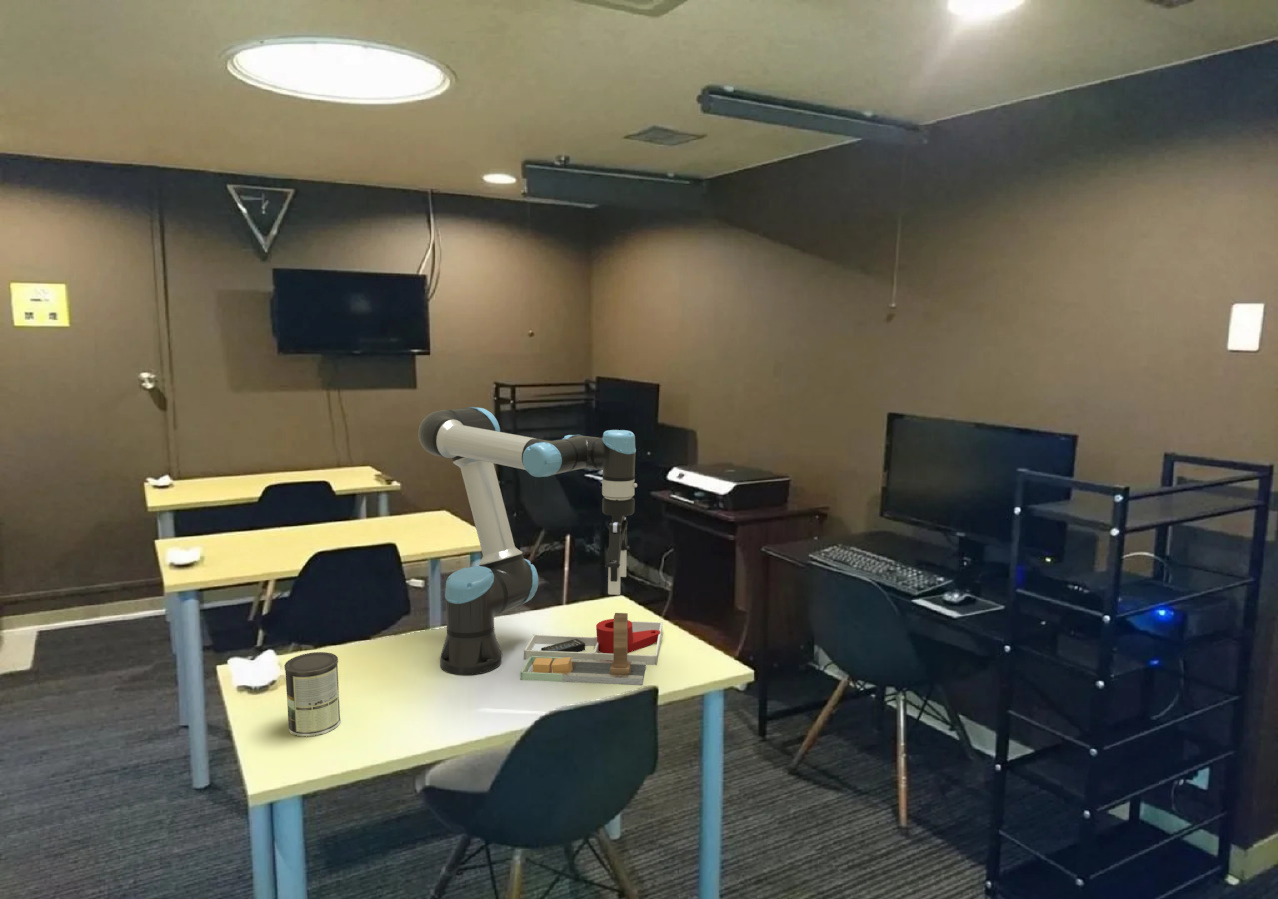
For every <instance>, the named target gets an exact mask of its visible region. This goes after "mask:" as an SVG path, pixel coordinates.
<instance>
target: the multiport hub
mask: <svg viewBox="0 0 1278 899" xmlns="http://www.w3.org/2000/svg"><path fill="white" fill-rule="evenodd" d="M540 651H561V652H584V651H586V646H585V643H583V642H581V641H580V640H578V639H574V640H570V641H566V642H562V643H558V644H550V645H548V646H544V647H541V648H540Z"/></svg>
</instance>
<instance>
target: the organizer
mask: <svg viewBox="0 0 1278 899" xmlns="http://www.w3.org/2000/svg"><path fill="white" fill-rule="evenodd" d="M630 621H631V622H632V629H633V632H639V631H647V630H659V631H660V634H659V635H658V641H657V643H656V647H655V653H654V655H652V654H630V653H627V661H639V662H646V666H647V665H648V666H649V665H650V666H657V664H658V658H659V653H660V647H661V643H662V638H663V637H662V636H663V622H662V621H661V622H659V621H639V620H638V621H635V620H634V621H633V620H630ZM574 639H578V640H580V641H581V642H583V643H585V647H586V646H587V647H594V649H593V652H586V651H585V652H584V651H580V652H561V651H541V650H536V649H535V650H533V648H534V646H535V645H555V644H558V643H562V642H566V641H570V640H574ZM530 656H540V657H564V658H567V657H571V659H592V660H614V654H609V653H601V652H599V643H598V642H597V636H575V635H573V636H571V635H551V634H549V635H548V634H547V635H546V634H533V635H532V637H531V638H530V639H529V642H528V643H527V645H526V647H525V648H524V650H523V660H528V659H529V657H530Z"/></svg>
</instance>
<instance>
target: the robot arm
mask: <svg viewBox="0 0 1278 899" xmlns="http://www.w3.org/2000/svg"><path fill="white" fill-rule="evenodd" d="M417 435H418V441H419V443H420V445H421V447H422V448H423V449H424V450H425V451H426V452H427V453H428V454H431V455H433V456H436V457H442V458H447V459H452V464H454V465H455V466H457V467H458V468H459V469H460V472H461V476H462V480H463V484H464V486H465V490H466V495H467V499H468V503H469V506H470V510H471V513H472V518H473V522H474V526H475V529H476V533H477V537H478V542H479V544H480V549H481V553H482V557H481V560H480V561H479V563H478V566H476V565H475V566H471V567H463V568H461V569H458V570H456V571H454V572H452V573H451V574H450V575H449V576H448V577H447V579H446V581H445V589H444V590H445V591H444V597H445V617H446V618H445V619H446V623H445V624H446V636H445V640H444V643H443V646H442V648H441V652H440V658H439V659H440V660H439V663H440V664H439V666H440V669H441V670H443V671H444V672H447V673H449V674H452V675H460V676H462V675H463V676H469V675H471V676H472V675H473V676H474V675H478V674H484V673H487V672H489V671H493V670H494V669H496V668H498V667H499V666H500V665H501V664H502V662H503V659H502V658H503V657H502V656H503V655H502V654H503V653H502V650H501V647H500V643H499V641H498V639H497V636H496V632H495V616H496V615H499V614H501V613H504V612H506V611H509V610H511V609H514V608H519V607H521V606H522V605H524V604H525V603H527V602H529V601H531V600H532V599H533V597H534V596H535V594H536V593H537V590H538V587H539V575H538V572H537V568H536V567H535V565H534V564H533V563H532V562H531V561H530V560H529V559H526V558H525V557H524V553H523V551H522V550H520V549H518V548H517V547H516V546H515V542H514V538H513V533H512V531H511V526H510V522H509V519H508V515H507V510H506V506H505V502H504V499H503V496H502V491H501V488H500V487H501V486H500V484H499V480H498V476H497V472H496V469H495V465H494V464H496V465H500V466H506V467H511V468H515V469H519V470H520V469H521V470H525V471H526V472H527V473H528V474H529V475H530V476H532V477H535V478H542V477H544V478H546V477H550V476H554V475H559V474H562V473H567V472H572V471H576V470H581V469H591V470H592V469H594V470H599V471H602V479H601V480H602V481H601V482H602V486H601V494H602V496H603V498H602V503H601V504H602V506H601V508H602V513H603V514H604V515H606V516H611V519H610V522H608V529H609V532H608V534H609V535H608V549H607V550H608V553H607V563H606V562H605V564H604V565H605V566H604V567H605V568H608V571H607V572H608V573H607V576H608V577H607V582H608V583H607V594H608V595H616V596H617V595H618V596H619V595H621V577H622V578H627V550H630V544H628V534H627V533H628V531H627V530H628V520H627V517H628V516H632V515H633V514H634V513H635V504H636V503H635V502H636V500H635V498H634V496H635V488H637V487H638V483H636V482H635V480H636V477H635V474H636V472H635V471H636V470H635V468H636V452H637V449H636V436H635V434H634V433H633V432H632V431H631V430H625V429H620V430H619V429H610V430H609V429H608V430H605V431H604V432H603V434H602V437H596V436H586V435H582V434H568V435H564V437H563V438H561V439H555V440H545V439H540V438H534V437H531V436H530V437H529V436H525V435H519V434H512V433H508V432H504V431H503V432H502V431H501V428H500V425H499V422H498V420H497V418H496V417H495V416H494V414H493V413H492V412H490V411H489V410H488V409H486V408H483V407H474V406H468V407H460V408H452V409H441V410H436V411H432V412H431V413H429V414H428V415H426V416H425V417H424V418H423V420H422V421H421V422H420V424H419V427H418V433H417ZM531 563H532V564H531Z"/></svg>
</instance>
